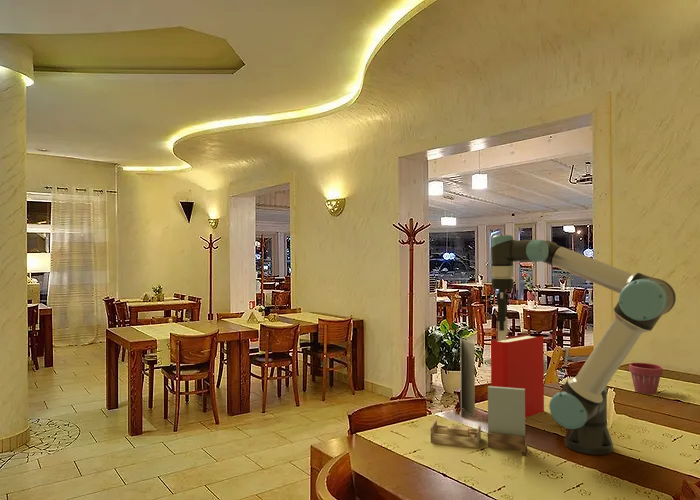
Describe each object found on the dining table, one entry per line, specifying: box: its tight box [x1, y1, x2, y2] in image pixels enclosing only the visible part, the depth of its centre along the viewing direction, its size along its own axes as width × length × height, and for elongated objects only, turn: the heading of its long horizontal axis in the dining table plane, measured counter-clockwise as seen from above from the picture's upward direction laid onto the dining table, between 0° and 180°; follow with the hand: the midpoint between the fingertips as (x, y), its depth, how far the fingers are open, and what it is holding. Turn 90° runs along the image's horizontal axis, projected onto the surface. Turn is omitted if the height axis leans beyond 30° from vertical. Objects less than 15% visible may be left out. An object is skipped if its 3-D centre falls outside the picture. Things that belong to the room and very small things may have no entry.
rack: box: [430, 418, 482, 449], centre depth 182 cm, size 16×10×6 cm, turn 71°
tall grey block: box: [459, 338, 476, 418], centre depth 220 cm, size 14×6×30 cm, turn 168°
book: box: [490, 333, 545, 419], centre depth 215 cm, size 27×8×32 cm, turn 129°
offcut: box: [447, 424, 470, 437], centre depth 180 cm, size 7×4×2 cm, turn 71°
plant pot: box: [628, 362, 663, 395], centre depth 252 cm, size 14×14×13 cm
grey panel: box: [487, 385, 526, 437], centre depth 176 cm, size 12×2×20 cm, turn 71°
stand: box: [487, 431, 528, 457], centre depth 176 cm, size 13×8×6 cm, turn 71°
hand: (502, 337), depth 187 cm, fingers open, 13 cm apart
